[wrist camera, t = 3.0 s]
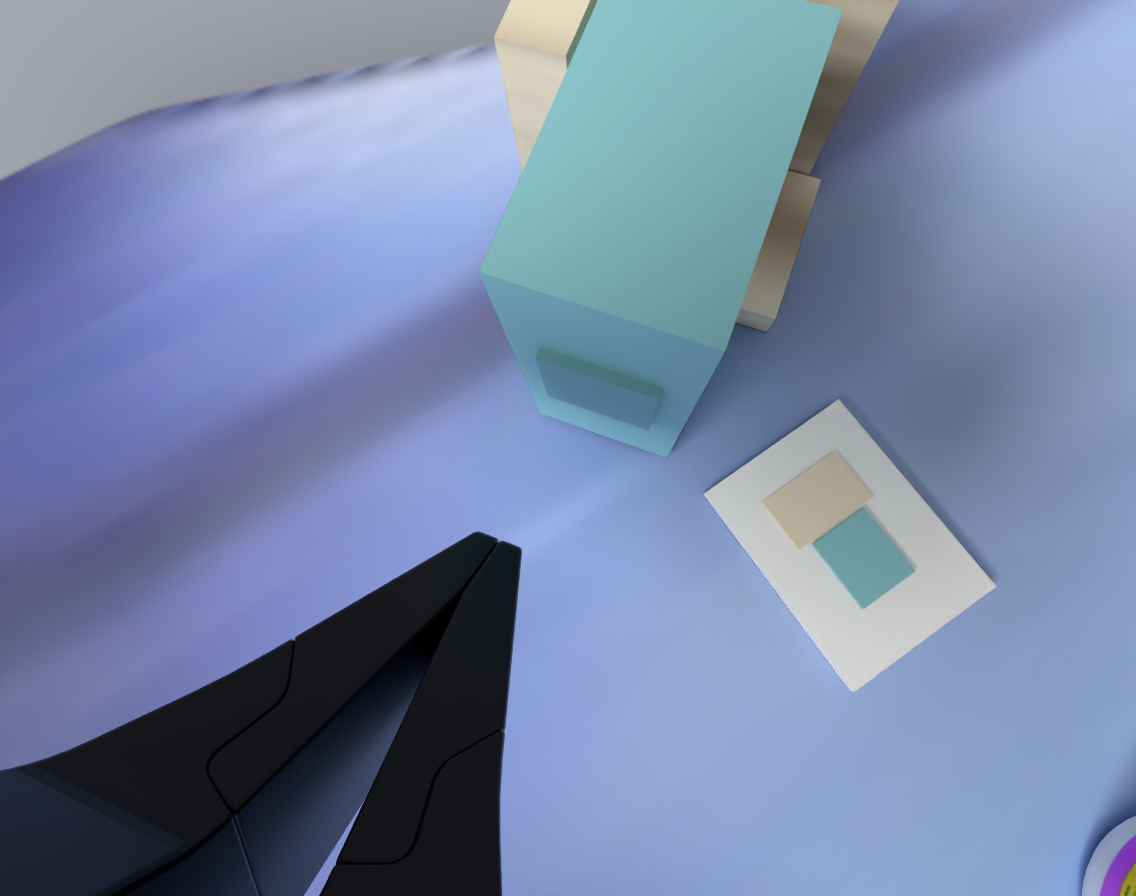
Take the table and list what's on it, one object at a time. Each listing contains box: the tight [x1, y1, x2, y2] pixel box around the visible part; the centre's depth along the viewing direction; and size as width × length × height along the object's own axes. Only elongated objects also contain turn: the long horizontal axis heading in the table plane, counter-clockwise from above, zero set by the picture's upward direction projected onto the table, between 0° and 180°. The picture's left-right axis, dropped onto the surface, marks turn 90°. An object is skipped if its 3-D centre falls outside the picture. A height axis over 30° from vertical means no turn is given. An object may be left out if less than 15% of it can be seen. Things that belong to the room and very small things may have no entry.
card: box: [704, 399, 996, 692], centre depth 20 cm, size 8×6×1 cm
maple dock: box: [494, 0, 899, 332], centre depth 18 cm, size 8×9×10 cm
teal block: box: [479, 0, 843, 458], centre depth 17 cm, size 8×5×10 cm, turn 159°
